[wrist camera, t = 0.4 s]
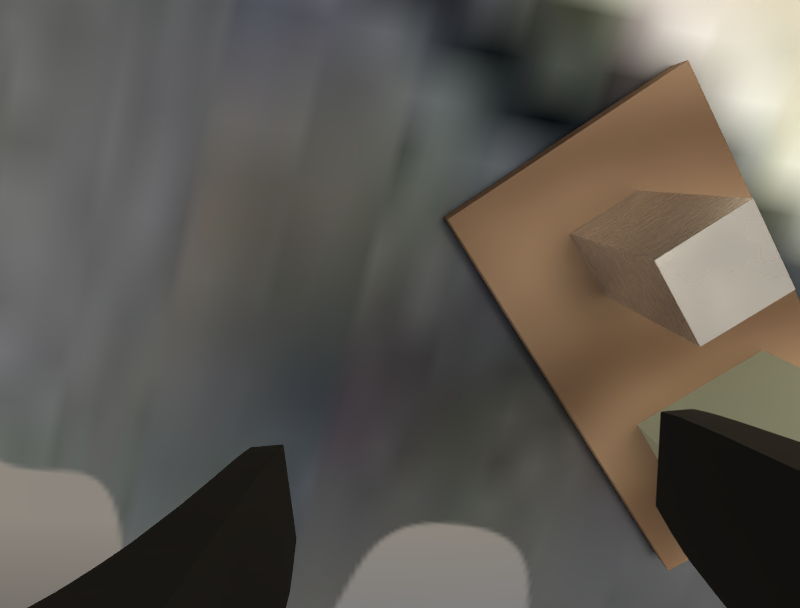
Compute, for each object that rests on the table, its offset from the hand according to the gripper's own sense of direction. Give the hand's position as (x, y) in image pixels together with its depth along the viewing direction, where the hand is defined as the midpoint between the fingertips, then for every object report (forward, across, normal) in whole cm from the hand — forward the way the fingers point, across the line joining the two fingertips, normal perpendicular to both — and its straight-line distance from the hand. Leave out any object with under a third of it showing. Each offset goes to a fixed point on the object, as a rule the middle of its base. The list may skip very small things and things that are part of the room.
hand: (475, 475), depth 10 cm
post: (+9, -7, -3) cm, 11 cm away
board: (+10, -9, +1) cm, 13 cm away
